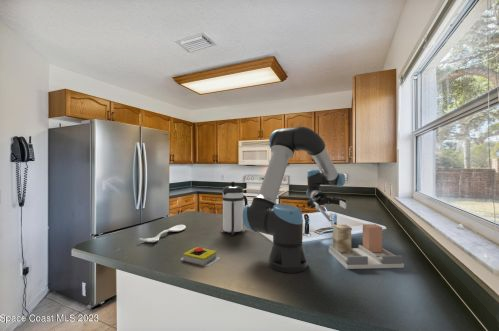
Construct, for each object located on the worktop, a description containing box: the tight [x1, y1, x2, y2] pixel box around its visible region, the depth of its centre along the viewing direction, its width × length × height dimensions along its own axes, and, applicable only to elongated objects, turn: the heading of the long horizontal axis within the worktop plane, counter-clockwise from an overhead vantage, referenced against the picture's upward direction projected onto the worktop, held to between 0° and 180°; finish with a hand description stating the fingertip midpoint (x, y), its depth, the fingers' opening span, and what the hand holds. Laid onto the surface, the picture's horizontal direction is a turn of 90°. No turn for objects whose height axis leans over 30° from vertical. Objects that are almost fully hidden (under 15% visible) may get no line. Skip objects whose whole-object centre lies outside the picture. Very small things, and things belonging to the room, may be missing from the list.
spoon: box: [138, 224, 187, 243], centre depth 127 cm, size 9×32×4 cm, turn 163°
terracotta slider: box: [362, 223, 383, 252], centre depth 102 cm, size 6×5×11 cm
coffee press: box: [219, 181, 249, 237], centre depth 136 cm, size 17×16×30 cm
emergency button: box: [180, 246, 221, 267], centre depth 96 cm, size 9×4×15 cm
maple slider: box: [332, 224, 352, 253], centre depth 101 cm, size 6×5×11 cm
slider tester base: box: [328, 244, 405, 270], centre depth 97 cm, size 23×17×4 cm
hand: (331, 206), depth 111 cm, fingers open, 13 cm apart
